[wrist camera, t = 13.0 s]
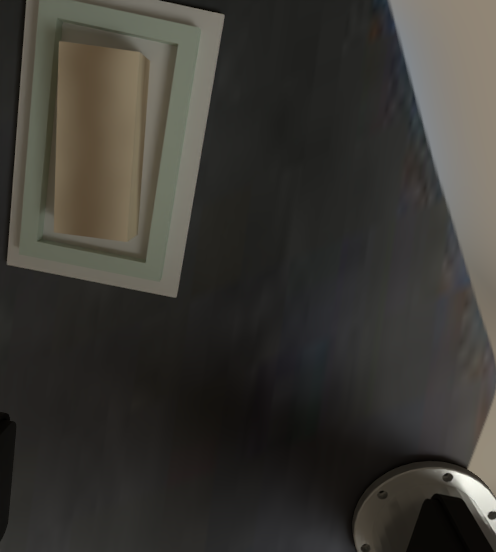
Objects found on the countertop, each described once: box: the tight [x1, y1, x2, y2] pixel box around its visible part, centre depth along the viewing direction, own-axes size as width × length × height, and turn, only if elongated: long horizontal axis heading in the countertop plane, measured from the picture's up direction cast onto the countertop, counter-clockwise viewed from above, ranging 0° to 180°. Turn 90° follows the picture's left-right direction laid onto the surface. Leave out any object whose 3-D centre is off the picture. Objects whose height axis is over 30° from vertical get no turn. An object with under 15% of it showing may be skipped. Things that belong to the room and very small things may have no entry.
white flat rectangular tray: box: [7, 0, 225, 298], centre depth 34 cm, size 20×13×2 cm, turn 169°
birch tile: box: [54, 41, 150, 242], centre depth 32 cm, size 5×12×3 cm, turn 173°
